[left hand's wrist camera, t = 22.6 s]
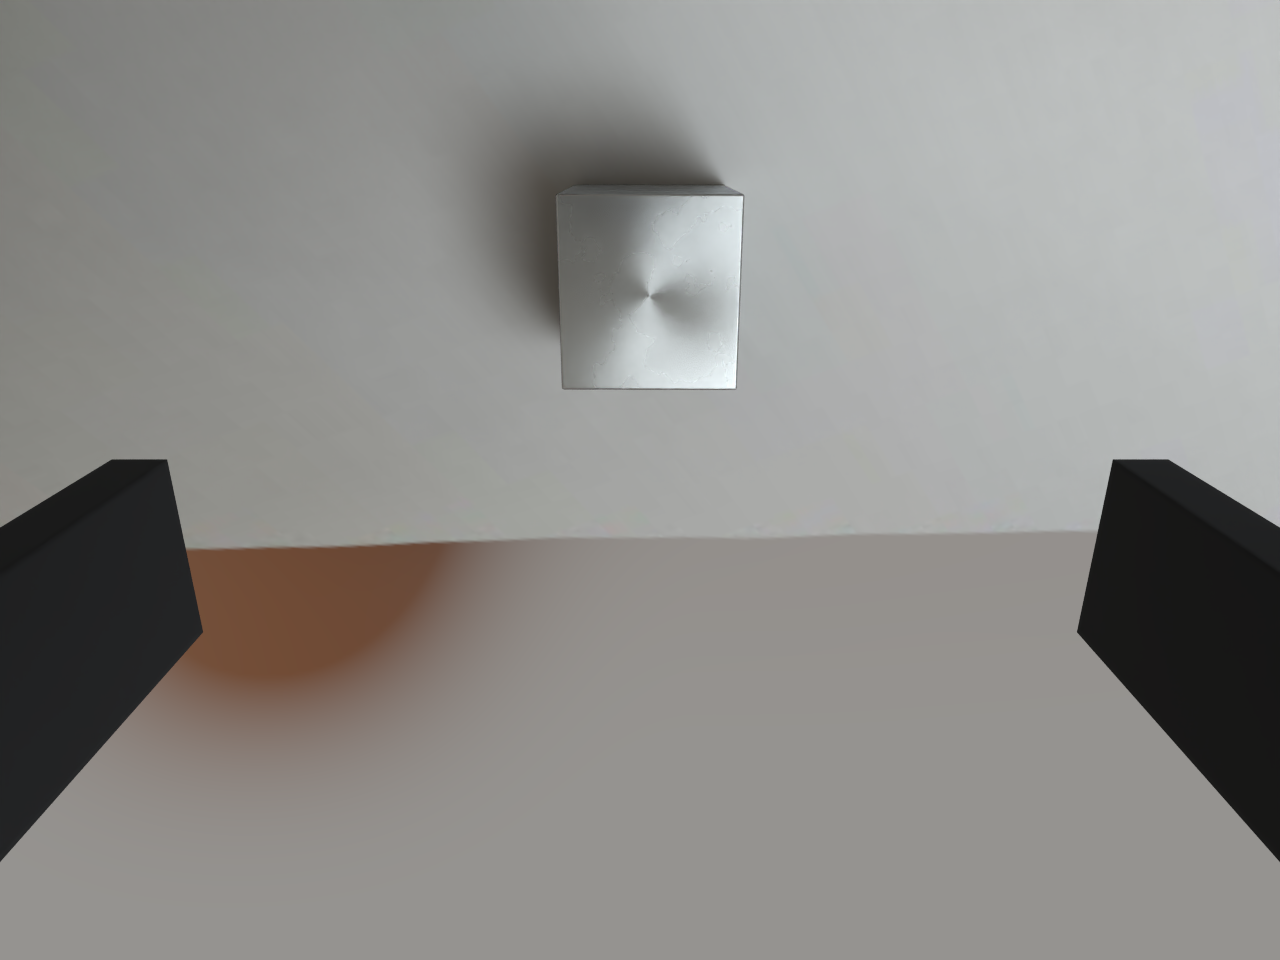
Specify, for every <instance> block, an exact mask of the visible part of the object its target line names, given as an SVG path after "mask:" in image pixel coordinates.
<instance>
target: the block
mask: <svg viewBox="0 0 1280 960" xmlns="http://www.w3.org/2000/svg"><path fill="white" fill-rule="evenodd" d="M743 215H744V194H742V193H739V192H737V191H735V190H733V189H731V188H729V187H727V186H725V185H574V186H572V187H570V188H568V189H566V190H564V191H562V192H560V193H558V194H556V218H557V249H558V280H559V311H560V342H561V373H562V389H629V390H735V389H736V388H737V364H738V340H739V315H740V290H741V265H742V240H743Z"/></svg>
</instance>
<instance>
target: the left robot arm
mask: <svg viewBox="0 0 1280 960" xmlns="http://www.w3.org/2000/svg"><path fill="white" fill-rule="evenodd" d="M202 633H203V630H202V625H201V620H200V615H199V611H198V606H197V601H196V596H195V591H194V587H193V582H192V577H191V572H190V567H189V563H188V558H187V553H186V548H185V543H184V539H183V534H182V529H181V524H180V519H179V515H178V510H177V505H176V500H175V495H174V491H173V486H172V481H171V476H170V471H169V467H168V462H167V460H110V461H109V462H107V463H105V464H104V465H102V466H100V467H99V468H97V469H95V470H94V471H92V472H91V473H89V474H87V475H86V476H84V477H82V478H81V479H79V480H77V481H76V482H74V483H73V484H71V485H69V486H68V487H66V488H64V489H63V490H61V491H59V492H58V493H56V494H55V495H53V496H51V497H50V498H48V499H46V500H45V501H43V502H41V503H40V504H38V505H37V506H35V507H33V508H32V509H30V510H28V511H27V512H25V513H23V514H22V515H20V516H18V517H17V518H15V519H14V520H12V521H10V522H9V523H7V524H5V525H4V526H2V527H0V861H1V860H2V859H3V858H4V857H5V856H6V855H7V853H8V852H9V851H10V850H11V849H12V848H13V847H14V846H15V844H16V843H17V842H18V841H19V840H20V839H21V838H22V837H23V835H24V834H25V833H26V832H27V831H28V830H29V829H30V827H31V826H32V825H33V824H34V823H35V822H36V821H37V819H38V818H39V817H40V816H41V815H42V814H43V813H44V812H45V810H46V809H47V808H48V807H49V806H50V805H51V804H52V803H53V801H54V800H55V799H56V798H57V797H58V796H59V795H60V793H61V792H62V791H63V790H64V789H65V788H66V787H67V786H68V784H69V783H70V782H71V781H72V780H73V779H74V778H75V776H76V775H77V774H78V773H79V772H80V771H81V770H82V769H83V767H84V766H85V765H86V764H87V763H88V762H89V761H90V759H91V758H92V757H93V756H94V755H95V754H96V753H97V751H98V750H99V749H100V748H101V747H102V746H103V745H104V744H105V743H106V741H107V740H108V739H109V738H110V737H111V736H112V735H113V733H114V732H115V731H116V730H117V729H118V728H119V727H120V726H121V724H122V723H123V722H124V721H125V720H126V719H127V718H128V716H129V715H130V714H131V713H132V712H133V711H134V710H135V709H136V707H137V706H138V705H139V704H140V703H141V702H142V701H143V699H144V698H145V697H146V696H147V695H148V694H149V693H150V692H151V690H152V689H153V688H154V687H155V686H156V685H157V684H158V682H159V681H160V680H161V679H162V678H163V677H164V676H165V675H166V673H167V672H168V671H169V670H170V669H171V668H172V667H173V666H174V664H175V663H176V662H177V661H178V660H179V659H180V658H181V656H182V655H183V654H184V653H185V652H186V651H187V650H188V649H189V647H190V646H191V645H192V644H193V643H194V642H195V641H196V639H197V638H198V637H199V636H200V635H201V634H202ZM1077 633H1078V634H1079V635H1080V636H1081V637H1082V638H1083V639H1084V641H1085V642H1086V643H1087V644H1088V645H1089V646H1090V647H1091V649H1092V650H1093V651H1094V652H1095V653H1096V654H1097V655H1098V656H1099V658H1100V659H1101V660H1102V661H1103V662H1104V663H1105V664H1106V666H1107V667H1108V668H1109V669H1110V670H1111V671H1112V672H1113V673H1114V675H1115V676H1116V677H1117V678H1118V679H1119V680H1120V681H1121V682H1122V684H1123V685H1124V686H1125V687H1126V688H1127V689H1128V690H1129V692H1130V693H1131V694H1132V695H1133V696H1134V697H1135V698H1136V699H1137V701H1138V702H1139V703H1140V704H1141V705H1142V706H1143V707H1144V709H1145V710H1146V711H1147V712H1148V713H1149V714H1150V715H1151V716H1152V718H1153V719H1154V720H1155V721H1156V722H1157V723H1158V724H1159V726H1160V727H1161V728H1162V729H1163V730H1164V731H1165V732H1166V733H1167V735H1168V736H1169V737H1170V738H1171V739H1172V740H1173V741H1174V742H1175V744H1176V745H1177V746H1178V747H1179V748H1180V749H1181V750H1182V752H1183V753H1184V754H1185V755H1186V756H1187V757H1188V758H1189V759H1190V761H1191V762H1192V763H1193V764H1194V765H1195V766H1196V767H1197V769H1198V770H1199V771H1200V772H1201V773H1202V774H1203V775H1204V776H1205V778H1206V779H1207V780H1208V781H1209V782H1210V783H1211V784H1212V786H1213V787H1214V788H1215V789H1216V790H1217V791H1218V792H1219V793H1220V795H1221V796H1222V797H1223V798H1224V799H1225V800H1226V801H1227V802H1228V804H1229V805H1230V806H1231V807H1232V808H1233V809H1234V810H1235V812H1236V813H1237V814H1238V815H1239V816H1240V817H1241V818H1242V820H1243V821H1244V822H1245V823H1246V824H1247V825H1248V826H1249V827H1250V829H1251V830H1252V831H1253V832H1254V833H1255V834H1256V835H1257V837H1258V838H1259V839H1260V840H1261V841H1262V842H1263V843H1264V844H1265V846H1266V847H1267V848H1268V849H1269V850H1270V851H1271V852H1272V853H1273V855H1274V856H1275V857H1276V858H1277V859H1278V860H1279V861H1280V527H1278V526H1276V525H1275V524H1273V523H1271V522H1270V521H1268V520H1266V519H1265V518H1263V517H1262V516H1260V515H1258V514H1257V513H1255V512H1253V511H1252V510H1250V509H1248V508H1247V507H1245V506H1243V505H1242V504H1240V503H1239V502H1237V501H1235V500H1234V499H1232V498H1230V497H1229V496H1227V495H1225V494H1224V493H1222V492H1221V491H1219V490H1217V489H1216V488H1214V487H1212V486H1211V485H1209V484H1207V483H1206V482H1204V481H1203V480H1201V479H1199V478H1198V477H1196V476H1194V475H1193V474H1191V473H1189V472H1188V471H1186V470H1185V469H1183V468H1181V467H1180V466H1178V465H1176V464H1175V463H1173V462H1171V461H1170V460H1113V462H1112V467H1111V471H1110V476H1109V481H1108V486H1107V491H1106V495H1105V500H1104V505H1103V510H1102V515H1101V519H1100V524H1099V529H1098V534H1097V539H1096V544H1095V548H1094V553H1093V558H1092V563H1091V568H1090V572H1089V577H1088V582H1087V587H1086V591H1085V596H1084V601H1083V606H1082V611H1081V615H1080V620H1079V625H1078V630H1077Z"/></svg>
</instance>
